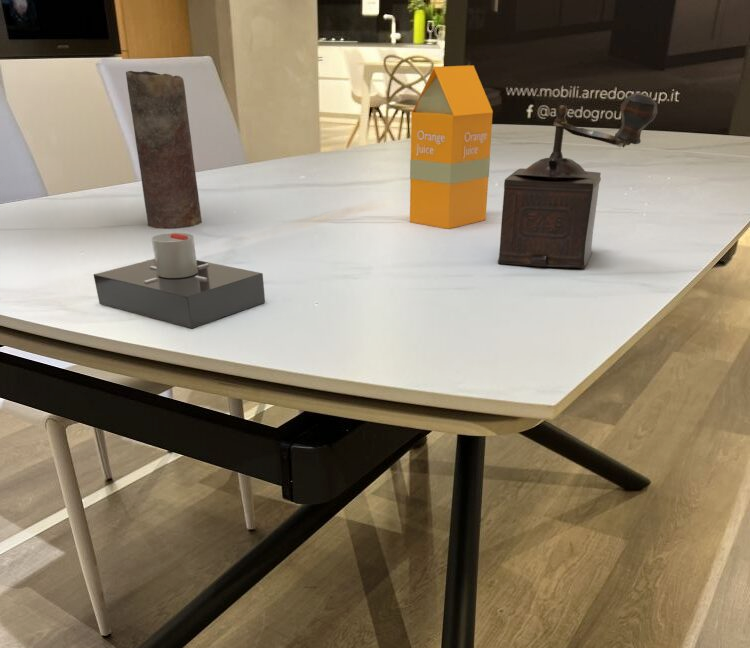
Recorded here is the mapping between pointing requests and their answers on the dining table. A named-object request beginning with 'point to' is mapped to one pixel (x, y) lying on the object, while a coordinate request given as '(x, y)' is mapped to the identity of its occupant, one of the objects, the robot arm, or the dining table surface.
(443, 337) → the dining table surface
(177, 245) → the knob
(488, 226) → the dining table surface
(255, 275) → the dark grey flat block
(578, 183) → the manual coffee grinder
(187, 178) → the rusty brown cylinder
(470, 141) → the orange juice
